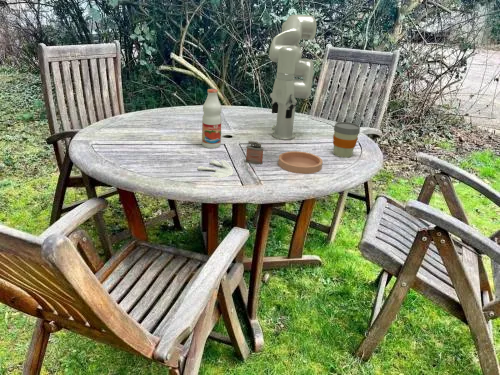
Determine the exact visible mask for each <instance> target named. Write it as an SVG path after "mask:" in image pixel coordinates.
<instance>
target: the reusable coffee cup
mask: <svg viewBox="0 0 500 375" xmlns="http://www.w3.org/2000/svg"><path fill="white" fill-rule="evenodd" d="M360 131H361V126H360V125H359V124H356V123H352V122H348V121H347V122H346V121H339V122H335V124H334V127H333V132H334V133H333V136H332V145H333V155H334V156H336V157H340V158H350V157H352V155H353V153H354V149H355V148H356V146H357V142H358V139H359V134H360V133H361V132H360Z"/></svg>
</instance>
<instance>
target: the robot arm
mask: <svg viewBox="0 0 500 375" xmlns="http://www.w3.org/2000/svg"><path fill="white" fill-rule="evenodd" d="M316 34H317V19H316V18H315V16H313V15H308V14H292V15H289V16H288V17H287V18H286V20H285V21H284V22H282V26H281V32H280V33H278V34H277V35H275V36H274V37H273V39H272V41H271V44H270V47H269V52H268V55H269V60H270V61H271V62H273V63H277V69H276V70H277V71H276V78H275V80H274V83H273V87H272V88H273V89H272V92H271V93H269V96H270V102H271V114H276V120H275V121H276V123H275V125H273V126H272V127H271V131H272V130H273V132H272V133H271V135H272V138H275V139H277V140H282V141H283V140H284V141H289V140H290V141H291V140H293V139H295V138H296V135H295V133H294V132H293V130H294V124H295V122H294V121H295V116H296V115H295V114H296V113H295V112H296V105H297V103H298V101H297V99H305V100H306V99H308V98H310V96H311V93H312V85H313V75H314V68H315V67H314V61H313V60H311V59H309V58H302V55H303V51H302V47H301V45H300V44H299V43H300V41H301V40H305V41H306V40H307V41H309V40H310V41H311V40H314V39H315V37H316ZM298 78H300V79H298ZM301 78H302V79H301ZM296 98H297V99H296Z"/></svg>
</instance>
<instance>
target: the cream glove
mask: <svg viewBox="0 0 500 375" xmlns="http://www.w3.org/2000/svg"><path fill="white" fill-rule="evenodd" d="M209 164H210V165H213V166H214V167H219V168H218V169H215V168H213V167H207V166H202V165H201V166H200V165H198V166H197V171H205V172H213V173H212V174H210V175H209V177H210V178H211V177H212V178H216V179H223V178H227V177H230V176H232V175H233V174H234V170H233V167H232V166H231V165H230V163H228V162H227V161H226V160H225V159H222V160H220V162H219V161H218V160H215V159H212V160H210V162H209Z"/></svg>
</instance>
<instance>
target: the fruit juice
mask: <svg viewBox="0 0 500 375" xmlns="http://www.w3.org/2000/svg"><path fill="white" fill-rule="evenodd" d="M218 92H219V89H217V88H208V89H207V97H206V100H205V102H204V103H203V105H202V112H203V115H202V120H201V121H202V122H201V123H202V124H201V125H202V126H201V131H202V132H201V143H202V144H201V145H202V146H203V147H204V148H207V149H216V148H217V149H218V148H220V147H221V143H222V115H221V113H222V111H223V110H222V104H221V102H220V100H219V97H218Z"/></svg>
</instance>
